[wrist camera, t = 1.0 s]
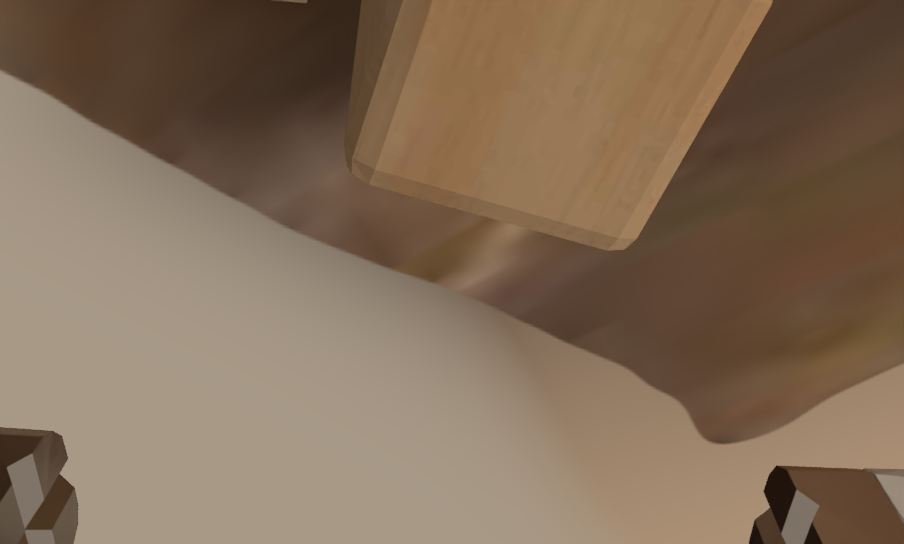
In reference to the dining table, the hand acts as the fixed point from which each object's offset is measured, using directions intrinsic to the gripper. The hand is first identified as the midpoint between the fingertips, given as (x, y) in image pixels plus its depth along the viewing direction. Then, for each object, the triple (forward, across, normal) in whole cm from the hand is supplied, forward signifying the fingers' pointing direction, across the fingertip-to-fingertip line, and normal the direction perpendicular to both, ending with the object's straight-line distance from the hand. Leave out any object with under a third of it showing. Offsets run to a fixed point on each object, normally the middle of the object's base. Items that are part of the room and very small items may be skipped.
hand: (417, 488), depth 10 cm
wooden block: (+36, -2, -2) cm, 36 cm away
